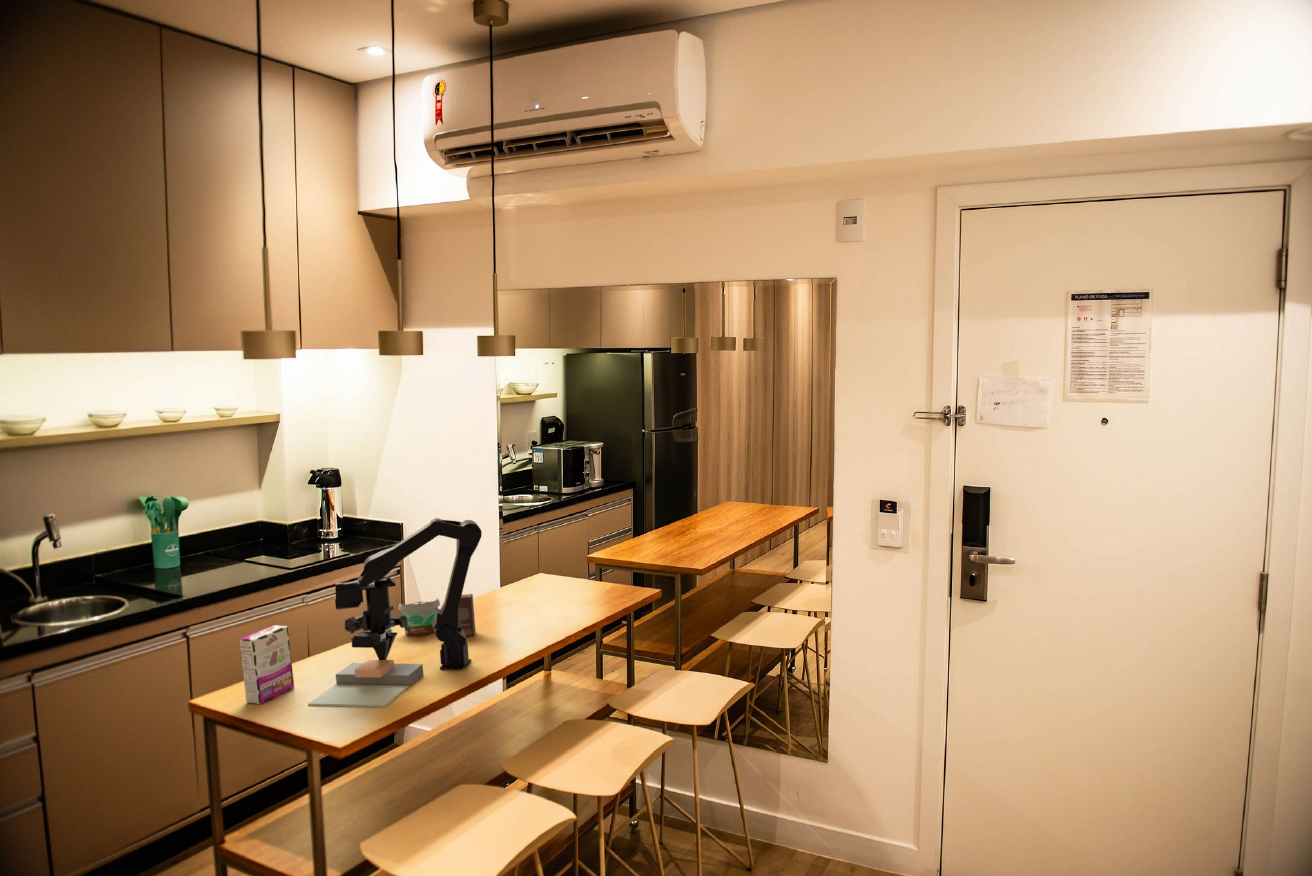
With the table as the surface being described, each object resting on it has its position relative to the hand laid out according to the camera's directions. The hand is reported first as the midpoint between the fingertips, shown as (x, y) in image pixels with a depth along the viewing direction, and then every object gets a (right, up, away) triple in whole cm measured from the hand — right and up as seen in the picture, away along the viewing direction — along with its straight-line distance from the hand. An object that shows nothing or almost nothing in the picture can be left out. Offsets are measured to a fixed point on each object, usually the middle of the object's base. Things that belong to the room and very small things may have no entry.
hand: (382, 662), depth 217 cm
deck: (0, -4, -2) cm, 4 cm away
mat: (-2, -5, -12) cm, 13 cm away
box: (+14, -1, +32) cm, 35 cm away
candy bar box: (-26, -6, -8) cm, 28 cm away
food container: (0, -1, +35) cm, 35 cm away
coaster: (-1, -1, -4) cm, 4 cm away
